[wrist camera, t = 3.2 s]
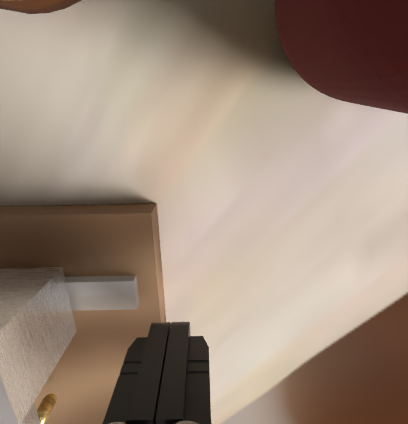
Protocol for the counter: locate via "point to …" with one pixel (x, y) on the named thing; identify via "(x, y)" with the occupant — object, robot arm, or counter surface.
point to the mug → (349, 48)
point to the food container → (36, 5)
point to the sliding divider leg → (31, 339)
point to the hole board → (91, 291)
